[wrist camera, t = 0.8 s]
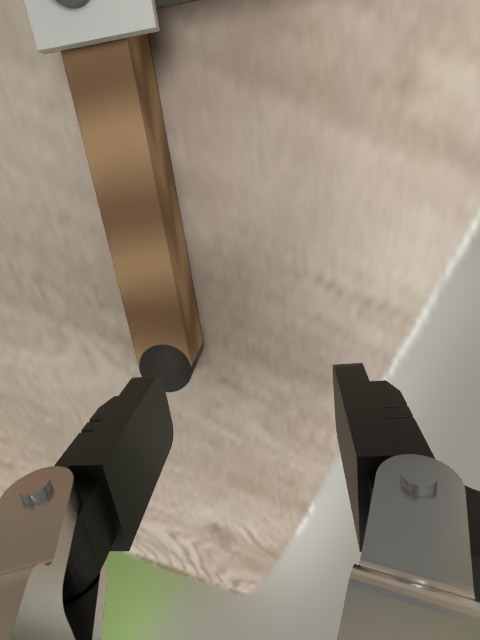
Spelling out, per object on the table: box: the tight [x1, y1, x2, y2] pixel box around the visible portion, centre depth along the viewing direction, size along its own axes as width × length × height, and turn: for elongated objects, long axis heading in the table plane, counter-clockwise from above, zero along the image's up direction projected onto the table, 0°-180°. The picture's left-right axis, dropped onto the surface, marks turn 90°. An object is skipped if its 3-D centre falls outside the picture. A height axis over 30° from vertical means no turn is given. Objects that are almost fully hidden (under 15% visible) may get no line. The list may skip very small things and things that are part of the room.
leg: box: [61, 34, 203, 392], centre depth 24 cm, size 24×4×4 cm, turn 8°
